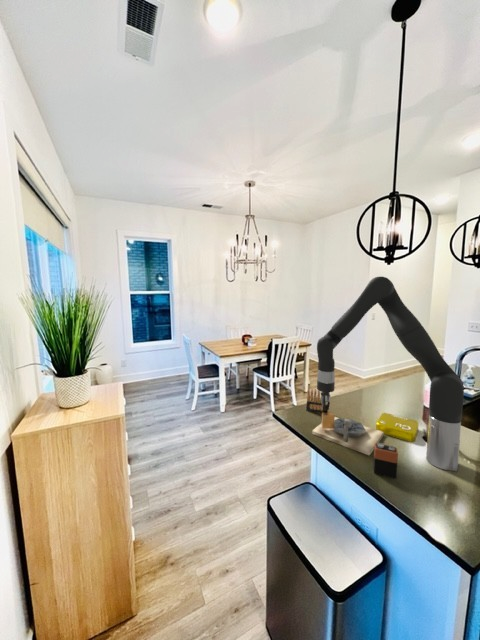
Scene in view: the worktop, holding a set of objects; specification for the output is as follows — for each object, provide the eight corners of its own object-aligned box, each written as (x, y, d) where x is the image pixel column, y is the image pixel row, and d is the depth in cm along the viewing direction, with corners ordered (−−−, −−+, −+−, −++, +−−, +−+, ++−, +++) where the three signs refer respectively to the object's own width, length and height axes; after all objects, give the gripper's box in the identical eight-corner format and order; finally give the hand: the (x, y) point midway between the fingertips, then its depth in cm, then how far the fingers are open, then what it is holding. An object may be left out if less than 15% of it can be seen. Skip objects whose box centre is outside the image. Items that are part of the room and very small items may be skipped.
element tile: (418, 429, 122) (419, 419, 122) (414, 444, 111) (414, 433, 110) (382, 420, 132) (382, 410, 131) (374, 432, 120) (375, 422, 120)
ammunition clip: (306, 410, 142) (306, 388, 141) (306, 409, 144) (306, 387, 143) (327, 413, 138) (327, 391, 137) (327, 412, 140) (327, 390, 139)
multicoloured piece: (358, 422, 123) (359, 409, 122) (368, 436, 110) (369, 422, 110) (319, 419, 125) (319, 407, 125) (324, 434, 112) (325, 420, 112)
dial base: (383, 435, 117) (384, 417, 116) (369, 455, 102) (370, 435, 101) (330, 418, 133) (331, 403, 132) (311, 434, 118) (312, 416, 117)
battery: (373, 466, 96) (374, 440, 95) (395, 471, 93) (396, 444, 92) (373, 474, 92) (375, 446, 91) (396, 479, 89) (398, 451, 88)
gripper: (316, 374, 128) (315, 409, 129) (318, 383, 115) (317, 422, 116) (332, 375, 126) (331, 411, 128) (336, 385, 113) (335, 424, 115)
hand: (324, 416), depth 122 cm, fingers closed
